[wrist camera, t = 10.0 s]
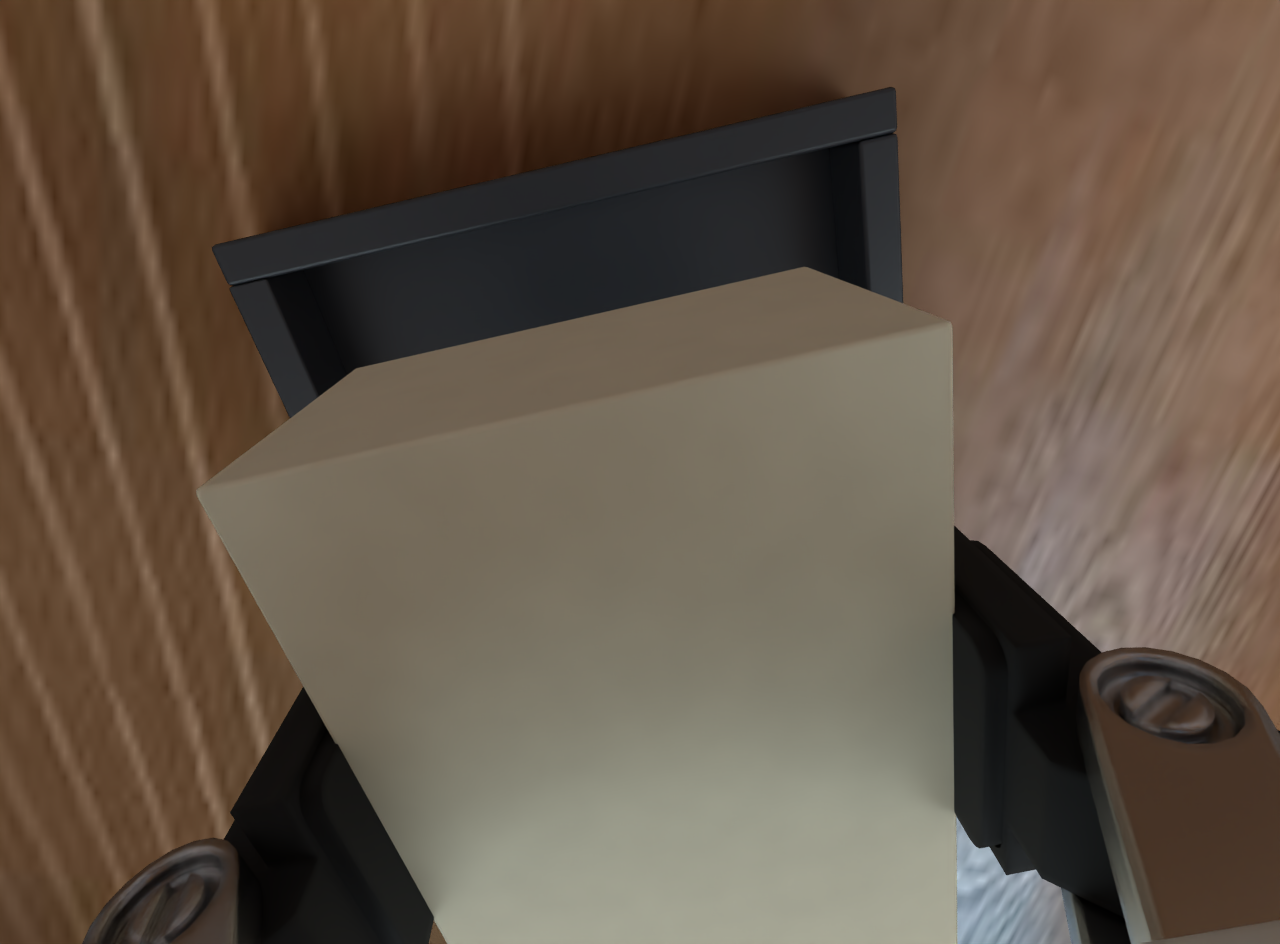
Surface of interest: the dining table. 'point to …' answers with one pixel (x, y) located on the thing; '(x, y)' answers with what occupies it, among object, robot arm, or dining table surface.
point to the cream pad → (637, 615)
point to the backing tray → (576, 242)
